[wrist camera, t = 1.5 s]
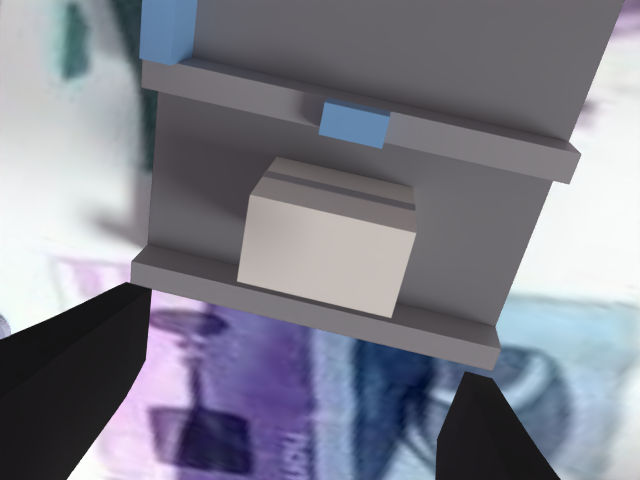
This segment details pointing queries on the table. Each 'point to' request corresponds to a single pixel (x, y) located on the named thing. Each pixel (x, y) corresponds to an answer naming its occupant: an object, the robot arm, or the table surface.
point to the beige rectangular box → (328, 236)
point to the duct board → (368, 142)
